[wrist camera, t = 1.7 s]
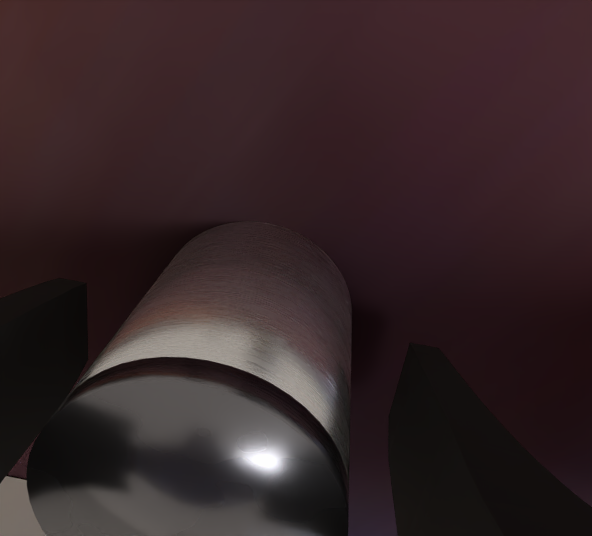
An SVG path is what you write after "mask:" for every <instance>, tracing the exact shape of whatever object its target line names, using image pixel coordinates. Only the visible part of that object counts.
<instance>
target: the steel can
mask: <svg viewBox="0 0 592 536" xmlns="http://www.w3.org/2000/svg"><path fill="white" fill-rule="evenodd" d="M351 341H352V305H351V298H350V294H349V291H348V287H347V284H346V282H345V280H344V278H343V276H342V274H341V272H340V271H339V269H338V268H337V266H336V264H335V263H334V262H333V261H332V260H331V258H330V257H329V256H328V255H327V254H326V253H325V252H324V251H323V250H322V249H321V248H320V247H319V246H317V245H316V244H315V243H313V242H312V241H310V240H309V239H308V238H306V237H304V236H302V235H301V234H299V233H297V232H295V231H293V230H290V229H287V228H285V227H282V226H278V225H274V224H270V223H265V222H256V221H240V222H233V223H227V224H223V225H219V226H216V227H213V228H211V229H209V230H206V231H204V232H202V233H201V234H199V235H197V236H196V237H194V238H193V239H191V240H190V241H189V242H188V243H187V244H185V245H184V246H183V247H182V249H181V250H180V251H179V252H178V253H177V254H176V255H175V257H174V258H173V259H172V261H171V262H170V263H169V265H168V266H167V267H166V269H165V270H164V271H163V272H162V274H161V275H160V276H159V278H158V279H157V280H156V282H155V283H154V284H153V285H152V287H151V288H150V289H149V291H148V292H147V293H146V295H145V296H144V297H143V299H142V300H141V301H140V302H139V304H138V305H137V306H136V308H135V309H134V310H133V312H132V313H131V314H130V315H129V317H128V318H127V319H126V321H125V322H124V323H123V325H122V326H121V327H120V329H119V330H118V331H117V332H116V334H115V335H114V336H113V338H112V339H111V340H110V342H109V343H108V344H107V345H106V347H105V348H104V349H103V351H102V352H101V353H100V355H99V356H98V357H97V359H96V360H95V361H94V362H93V364H92V365H91V366H90V368H89V369H88V370H87V372H86V373H85V374H84V375H83V377H82V378H81V379H80V381H79V382H78V383H77V385H76V386H75V387H74V389H73V390H72V391H71V392H70V394H69V395H68V396H67V398H66V399H65V400H64V402H63V403H62V404H61V405H60V407H59V408H58V409H57V411H56V412H55V413H54V415H53V416H52V417H51V419H50V420H49V421H48V422H47V424H46V425H45V426H44V428H43V429H42V431H41V432H40V434H39V435H38V437H37V439H36V440H35V442H34V445H33V447H32V450H31V452H30V455H29V460H28V465H27V490H28V495H29V501H30V504H31V506H32V509H33V512H34V515H35V517H36V519H37V521H38V523H39V525H40V527H41V529H42V530H43V532H44V533H45V535H46V536H348V503H349V449H350V395H351Z"/></svg>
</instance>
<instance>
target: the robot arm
mask: <svg viewBox="0 0 592 536" xmlns="http://www.w3.org/2000/svg"><path fill="white" fill-rule="evenodd" d="M87 361H88V331H87V289H86V283H83V282H78V281H73V280H67V279H62V278H58V279H54V280H51V281H47V282H44V283H41V284H38V285H36V286H33V287H30V288H27V289H24V290H22V291H19V292H16V293H14V294H11V295H8V296H6V297H3V298H0V484H1V482H2V481H3V479H4V478H5V477H6V475H7V474H8V473H9V471H10V470H11V469H12V468H13V466H14V465H15V464H16V462H17V461H18V460H19V459H20V457H21V456H22V455H23V453H24V452H25V451H26V450H27V448H28V447H29V446H30V444H31V443H32V442H33V441H34V439H35V438H36V437H37V435H38V434H39V433H40V432H41V430H42V429H43V428H44V426H45V425H46V424H47V422H48V421H49V420H50V419H51V417H52V416H53V415H54V413H55V412H56V411H57V409H58V408H59V407H60V405H61V404H62V403H63V401H64V400H65V399H66V397H67V396H68V394H69V393H70V391H71V389H72V387H73V386H74V384H75V382H76V381H77V379H78V377H79V375H80V373H81V372H82V370H83V368H84V366H85V364H86V362H87ZM388 458H389V467H390V476H391V484H392V493H393V501H394V509H395V516H396V525H397V533H398V536H592V507H591V506H589V505H588V504H587V503H585V502H584V501H583V500H582V499H580V498H579V497H578V496H577V495H575V494H574V493H573V492H572V491H571V490H569V489H568V488H567V487H566V486H565V485H563V484H562V483H561V482H560V481H559V480H558V479H557V478H556V477H555V476H553V475H552V474H551V473H550V472H549V471H548V470H547V469H546V468H545V467H544V466H542V465H541V464H540V463H539V462H538V461H537V460H536V459H535V458H534V457H533V456H532V455H531V454H530V453H529V452H528V451H526V450H525V449H524V448H523V447H522V446H521V445H520V443H519V442H518V441H517V440H516V439H515V438H514V437H513V436H512V435H511V434H510V433H509V432H508V431H507V430H506V429H505V428H504V427H503V426H502V424H501V423H500V422H499V421H498V420H497V419H496V418H495V417H494V416H493V414H492V413H491V412H490V411H489V410H488V409H487V407H486V406H485V405H484V404H483V403H482V402H481V400H480V399H479V398H478V397H477V396H476V394H475V393H474V392H473V391H472V389H471V388H470V387H469V386H468V385H467V383H466V382H465V381H464V379H463V378H462V377H461V376H460V374H459V373H458V372H457V371H456V369H455V368H454V367H453V366H452V364H451V363H450V362H449V360H448V359H447V358H446V357H445V355H444V354H443V353H442V352H441V351H440V350H439V348H436V347H430V346H425V345H419V344H414V343H410V345H409V348H408V352H407V355H406V359H405V362H404V365H403V369H402V372H401V376H400V379H399V383H398V386H397V390H396V393H395V397H394V400H393V403H392V407H391V410H390V414H389V436H388Z"/></svg>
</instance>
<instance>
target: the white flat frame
mask: <svg viewBox="0 0 592 536" xmlns="http://www.w3.org/2000/svg"><path fill="white" fill-rule="evenodd" d="M0 536H46V535H45V533H44V532H43V530H42V529H41V527H40V525H39V523H38V521H37V519H36V517H35V515H34V512H33V509H32V506H31V504H30V501H29V495H28V490H27V480H23V479H18V478H13V477H8V476H6V477H5V478H4V479H3V481H2V482H1V484H0Z"/></svg>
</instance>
